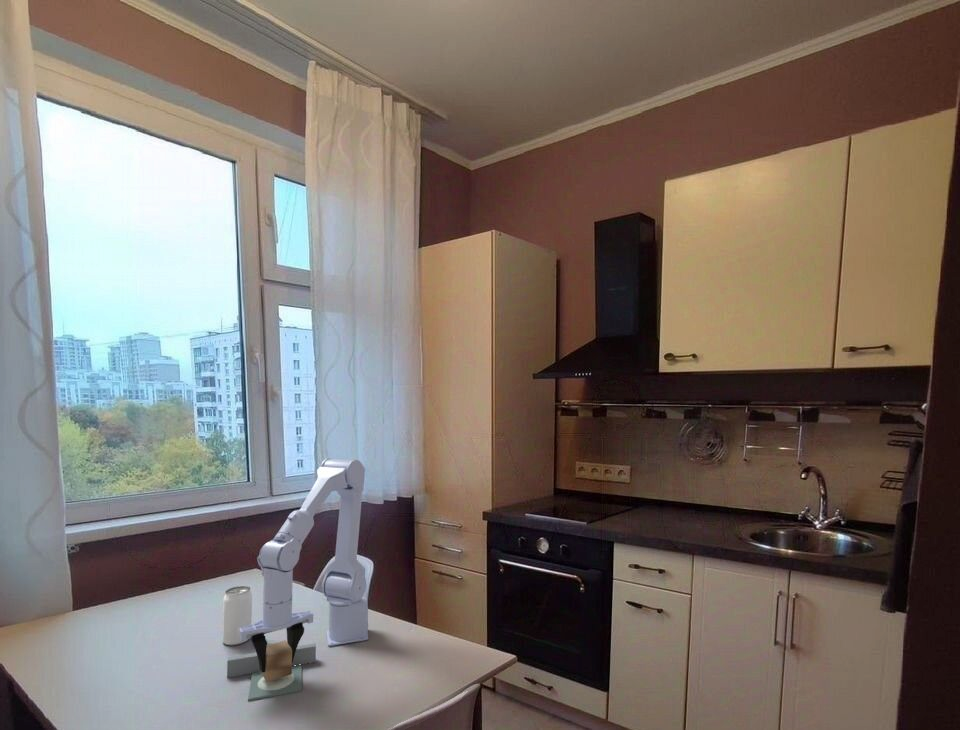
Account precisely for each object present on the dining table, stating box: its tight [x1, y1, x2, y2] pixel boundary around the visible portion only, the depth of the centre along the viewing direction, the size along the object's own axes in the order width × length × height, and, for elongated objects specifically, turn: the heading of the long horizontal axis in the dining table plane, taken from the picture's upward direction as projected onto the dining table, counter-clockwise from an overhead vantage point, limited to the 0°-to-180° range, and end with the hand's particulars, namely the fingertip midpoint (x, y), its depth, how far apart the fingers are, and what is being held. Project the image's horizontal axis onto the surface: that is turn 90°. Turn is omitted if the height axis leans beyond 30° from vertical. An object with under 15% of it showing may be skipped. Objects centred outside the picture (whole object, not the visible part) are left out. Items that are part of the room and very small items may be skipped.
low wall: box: [226, 643, 317, 679], centre depth 112 cm, size 18×2×4 cm, turn 110°
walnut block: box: [260, 640, 292, 682], centre depth 106 cm, size 5×5×5 cm
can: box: [221, 585, 253, 646], centre depth 125 cm, size 6×6×12 cm
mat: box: [247, 665, 303, 702], centre depth 106 cm, size 10×10×1 cm
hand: (276, 665), depth 106 cm, fingers closed on walnut block, 5 cm apart
